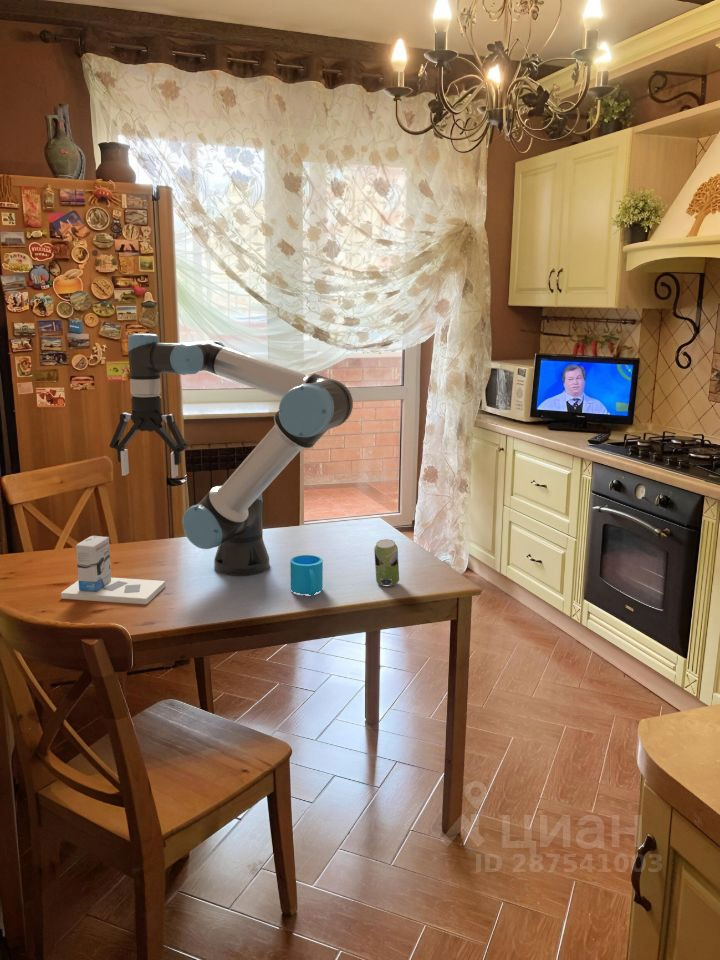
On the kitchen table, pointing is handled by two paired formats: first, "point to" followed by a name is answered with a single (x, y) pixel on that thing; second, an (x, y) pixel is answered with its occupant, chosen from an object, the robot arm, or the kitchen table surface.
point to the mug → (306, 574)
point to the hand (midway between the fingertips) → (150, 475)
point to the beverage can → (386, 562)
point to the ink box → (93, 563)
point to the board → (118, 591)
